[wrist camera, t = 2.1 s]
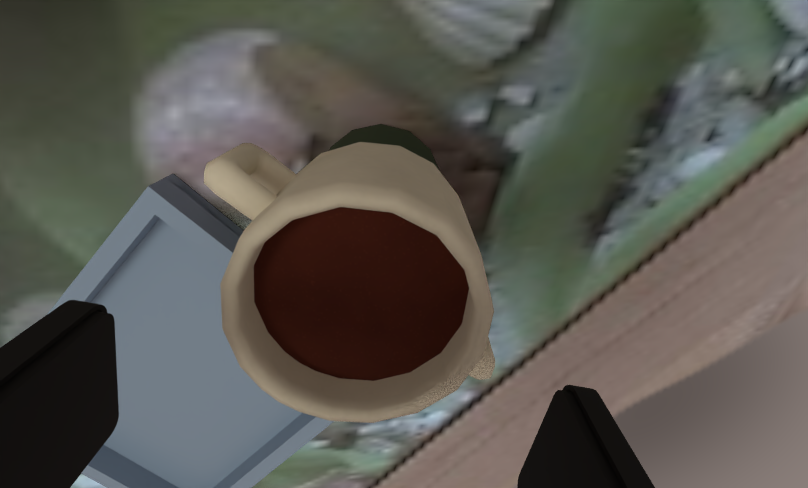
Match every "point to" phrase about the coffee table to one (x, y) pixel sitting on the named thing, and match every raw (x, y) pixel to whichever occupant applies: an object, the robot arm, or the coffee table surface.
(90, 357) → the robot arm
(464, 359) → the character mug
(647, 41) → the coffee table surface
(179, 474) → the tray
